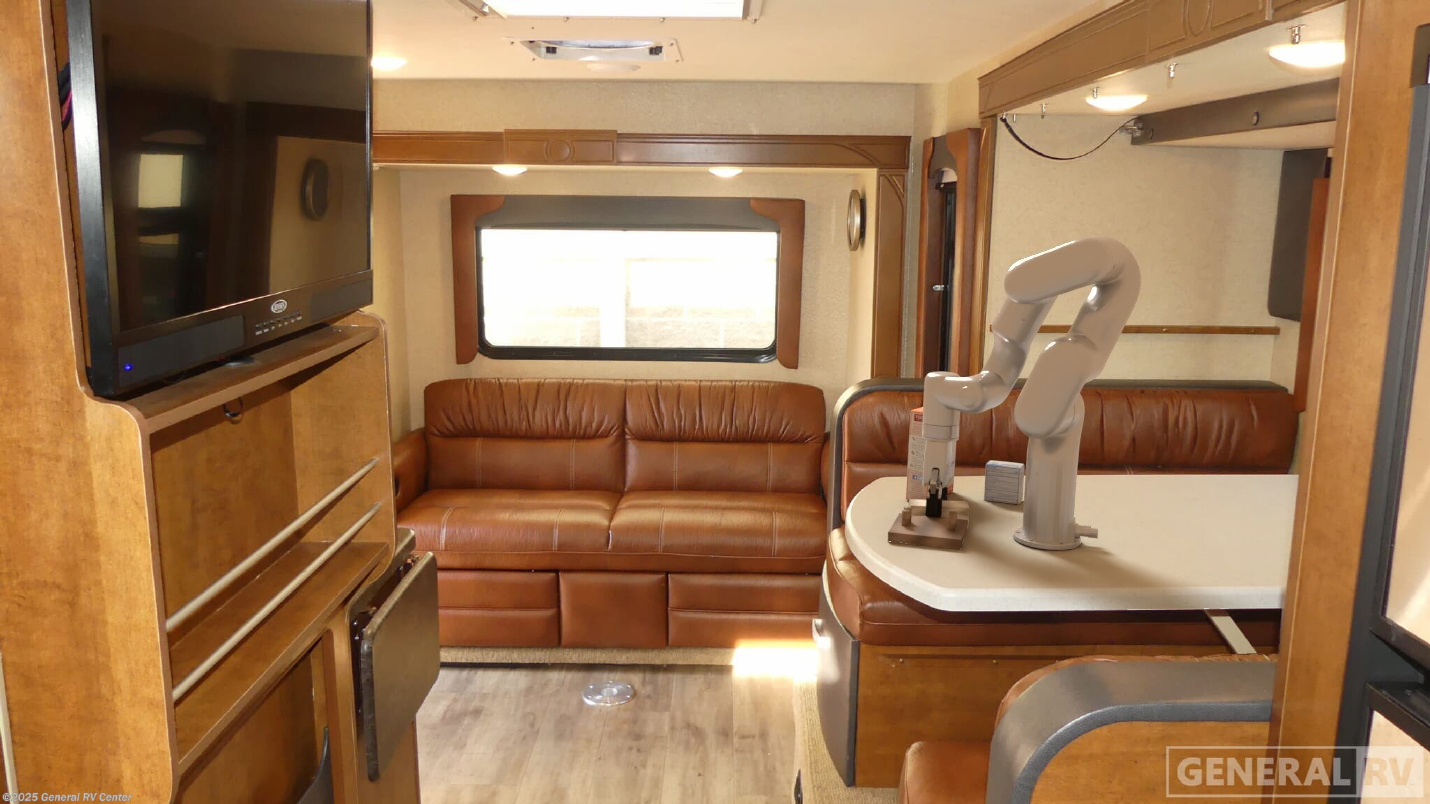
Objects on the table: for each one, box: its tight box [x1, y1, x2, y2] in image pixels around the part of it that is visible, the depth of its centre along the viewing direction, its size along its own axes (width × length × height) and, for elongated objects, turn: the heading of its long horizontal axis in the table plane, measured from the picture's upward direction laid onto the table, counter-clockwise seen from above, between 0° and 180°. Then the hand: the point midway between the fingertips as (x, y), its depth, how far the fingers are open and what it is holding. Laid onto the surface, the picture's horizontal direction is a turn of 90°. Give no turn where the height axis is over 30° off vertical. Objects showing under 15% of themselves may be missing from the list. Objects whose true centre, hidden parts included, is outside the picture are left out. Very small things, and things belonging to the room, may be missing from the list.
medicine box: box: [983, 460, 1025, 505], centre depth 229 cm, size 8×4×9 cm, turn 63°
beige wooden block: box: [908, 499, 970, 526], centre depth 213 cm, size 12×5×4 cm, turn 83°
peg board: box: [887, 506, 969, 550], centre depth 203 cm, size 14×14×5 cm
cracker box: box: [905, 406, 957, 501], centre depth 231 cm, size 14×6×21 cm, turn 143°
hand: (936, 510), depth 213 cm, fingers open, 9 cm apart
